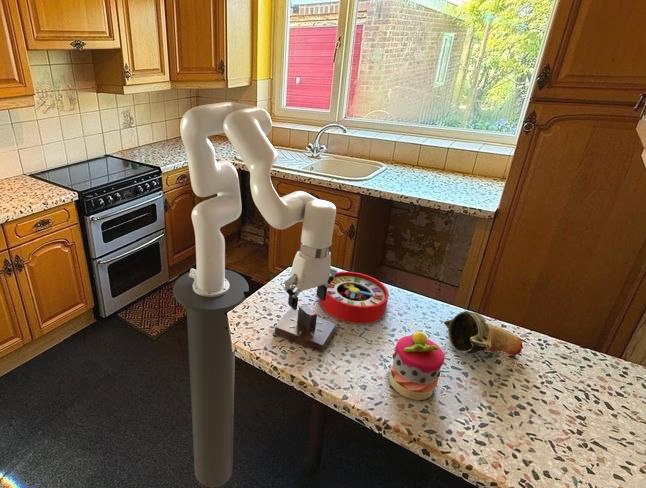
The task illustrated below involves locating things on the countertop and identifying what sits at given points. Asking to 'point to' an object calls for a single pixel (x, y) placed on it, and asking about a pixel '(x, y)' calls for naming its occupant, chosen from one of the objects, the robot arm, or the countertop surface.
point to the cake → (416, 366)
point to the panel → (305, 331)
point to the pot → (480, 335)
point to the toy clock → (355, 298)
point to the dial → (307, 317)
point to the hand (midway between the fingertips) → (306, 302)
